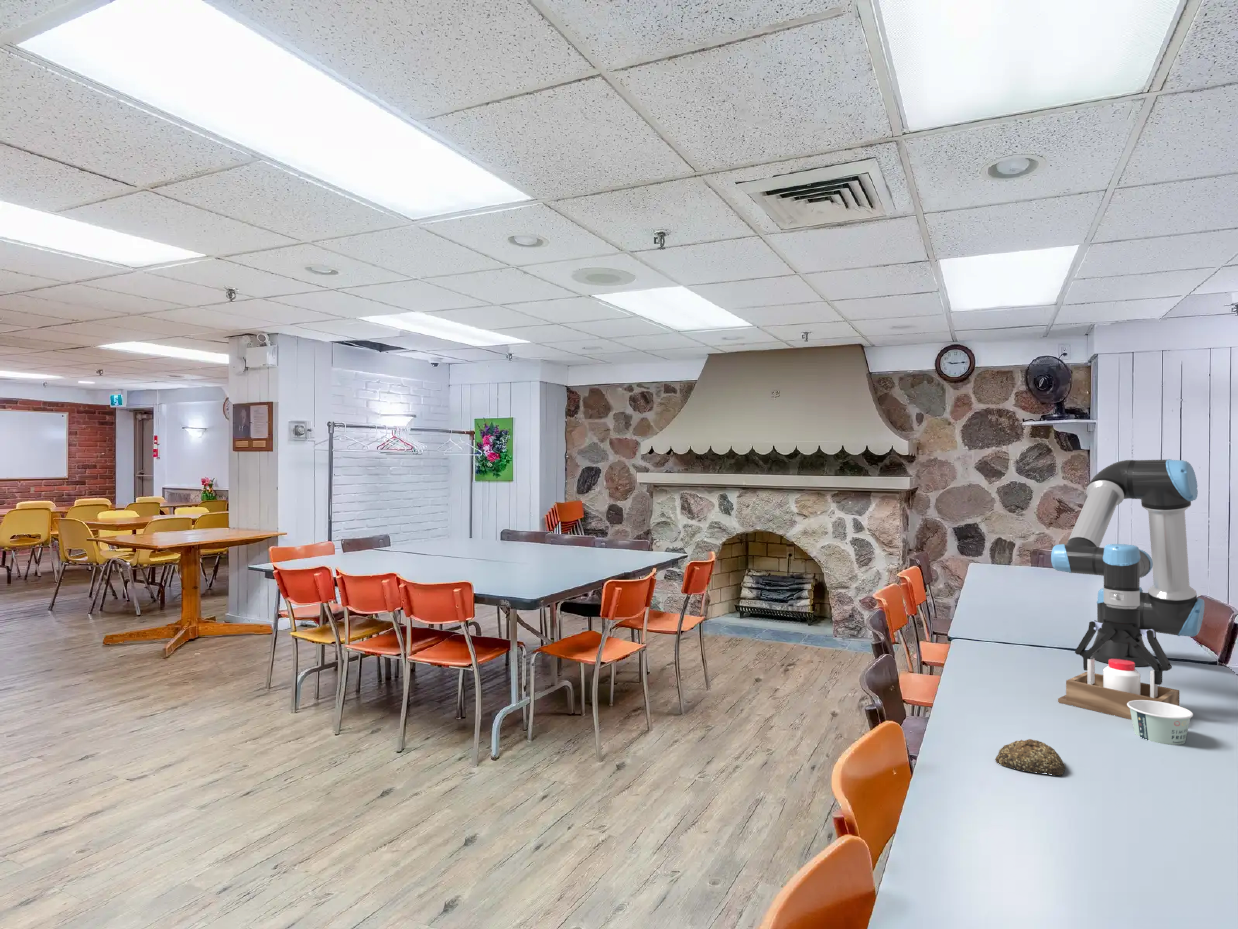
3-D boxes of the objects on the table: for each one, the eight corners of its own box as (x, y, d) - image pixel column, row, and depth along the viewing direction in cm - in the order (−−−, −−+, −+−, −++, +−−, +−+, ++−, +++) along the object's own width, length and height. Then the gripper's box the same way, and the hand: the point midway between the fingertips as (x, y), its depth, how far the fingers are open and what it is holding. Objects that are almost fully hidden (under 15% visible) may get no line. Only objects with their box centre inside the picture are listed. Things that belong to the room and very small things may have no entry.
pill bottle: (1146, 711, 178) (1146, 666, 178) (1111, 709, 179) (1111, 664, 179) (1131, 701, 185) (1131, 658, 185) (1097, 699, 187) (1097, 656, 187)
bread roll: (1064, 782, 141) (1064, 756, 141) (993, 768, 147) (993, 743, 147) (1065, 759, 151) (1065, 736, 151) (998, 747, 158) (998, 724, 158)
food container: (1175, 751, 155) (1175, 720, 155) (1115, 733, 166) (1115, 704, 166) (1204, 741, 161) (1204, 712, 161) (1144, 724, 172) (1144, 697, 172)
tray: (1079, 692, 196) (1079, 670, 196) (1188, 716, 177) (1188, 691, 177) (1058, 702, 187) (1058, 679, 187) (1170, 729, 168) (1170, 703, 168)
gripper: (1061, 600, 190) (1061, 681, 190) (1177, 616, 170) (1177, 706, 170) (1072, 597, 194) (1072, 676, 194) (1187, 612, 175) (1187, 700, 175)
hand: (1121, 690), depth 182 cm, fingers open, 13 cm apart
